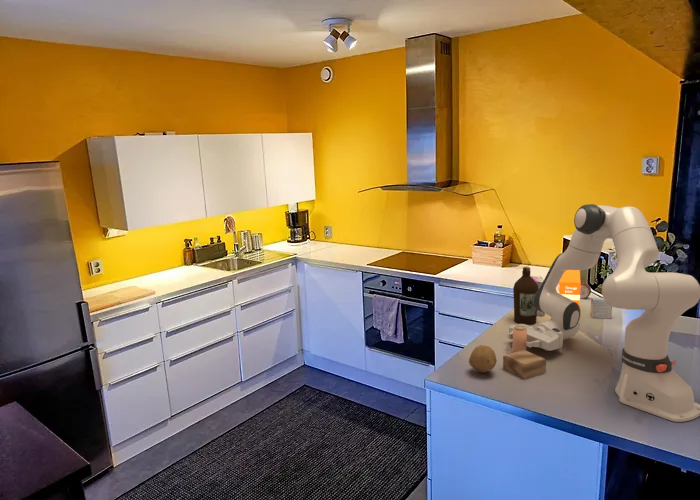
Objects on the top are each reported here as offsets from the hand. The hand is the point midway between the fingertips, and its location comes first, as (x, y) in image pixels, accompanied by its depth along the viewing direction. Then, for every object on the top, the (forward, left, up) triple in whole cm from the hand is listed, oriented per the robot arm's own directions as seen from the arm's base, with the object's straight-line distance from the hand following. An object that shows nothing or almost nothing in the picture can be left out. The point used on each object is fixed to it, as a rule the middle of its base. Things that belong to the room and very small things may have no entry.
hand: (517, 340), depth 178 cm
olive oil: (+24, -29, -6) cm, 38 cm away
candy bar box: (+30, -43, -6) cm, 53 cm away
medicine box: (+10, -61, -6) cm, 62 cm away
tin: (+36, -76, -6) cm, 84 cm away
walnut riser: (-11, +8, -6) cm, 15 cm away
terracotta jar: (0, -1, -6) cm, 6 cm away
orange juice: (+25, -58, -6) cm, 63 cm away
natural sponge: (-5, +21, -6) cm, 23 cm away
